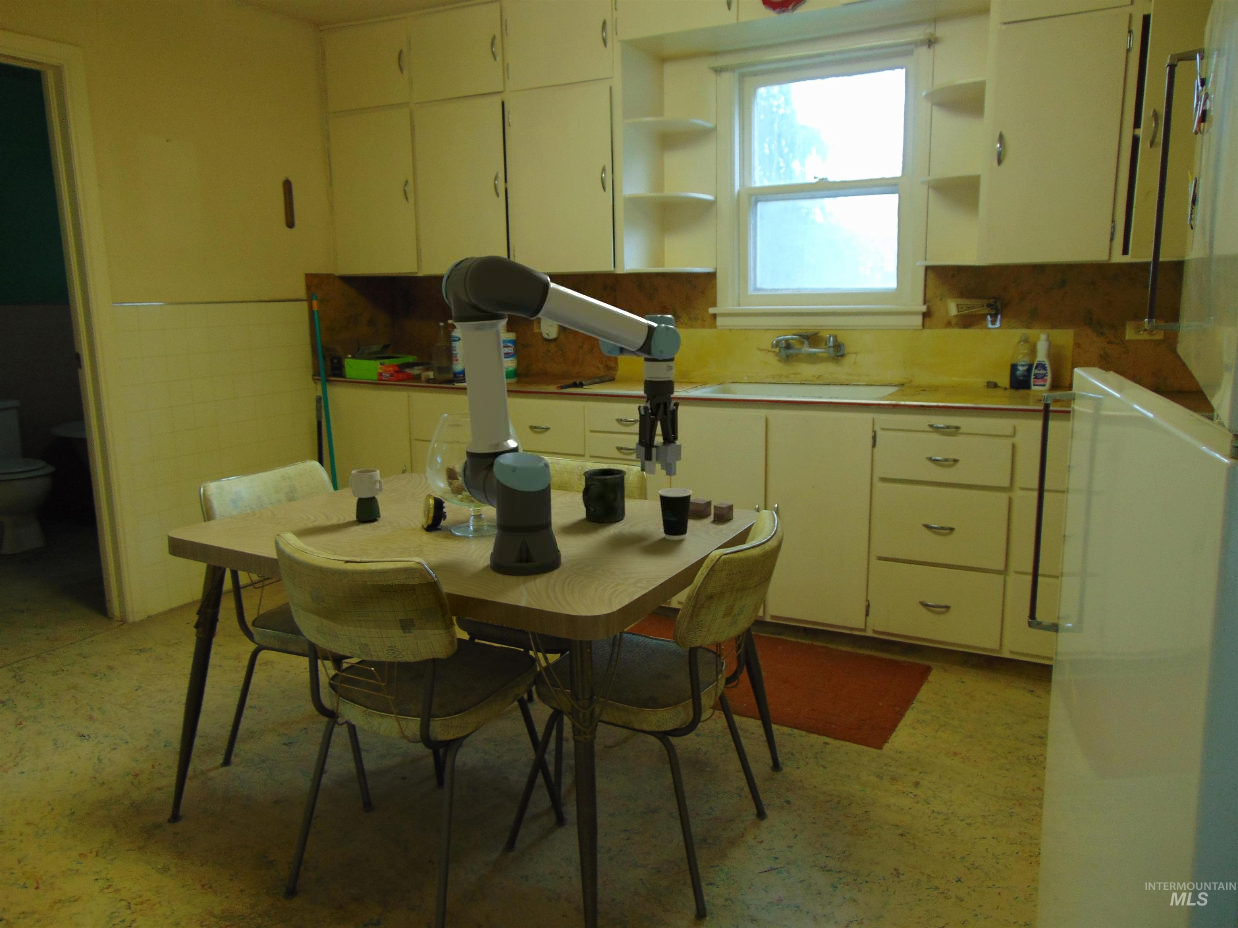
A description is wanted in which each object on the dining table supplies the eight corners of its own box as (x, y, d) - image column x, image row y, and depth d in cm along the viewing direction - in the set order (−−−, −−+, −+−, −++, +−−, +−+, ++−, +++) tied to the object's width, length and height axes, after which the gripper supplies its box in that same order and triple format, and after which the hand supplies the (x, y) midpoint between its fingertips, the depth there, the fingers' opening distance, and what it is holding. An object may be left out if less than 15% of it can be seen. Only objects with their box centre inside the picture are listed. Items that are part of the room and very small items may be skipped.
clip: (680, 474, 222) (681, 444, 221) (667, 477, 218) (667, 446, 217) (649, 469, 228) (649, 440, 227) (635, 472, 224) (635, 442, 223)
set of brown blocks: (724, 521, 224) (724, 507, 224) (667, 511, 236) (667, 497, 235) (733, 518, 227) (733, 504, 227) (676, 508, 239) (676, 494, 238)
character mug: (394, 519, 233) (390, 470, 230) (375, 525, 226) (371, 475, 224) (361, 515, 237) (358, 467, 235) (342, 521, 231) (338, 472, 229)
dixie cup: (659, 541, 207) (658, 495, 205) (657, 532, 215) (657, 488, 213) (693, 541, 207) (693, 495, 205) (690, 532, 215) (690, 487, 213)
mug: (635, 516, 232) (634, 470, 229) (603, 528, 220) (602, 480, 217) (600, 511, 237) (599, 466, 235) (567, 523, 225) (566, 476, 223)
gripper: (647, 382, 210) (646, 479, 214) (693, 377, 223) (692, 468, 228) (622, 380, 214) (622, 475, 219) (669, 375, 228) (668, 465, 232)
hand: (658, 471), depth 223 cm, fingers closed on clip, 5 cm apart
